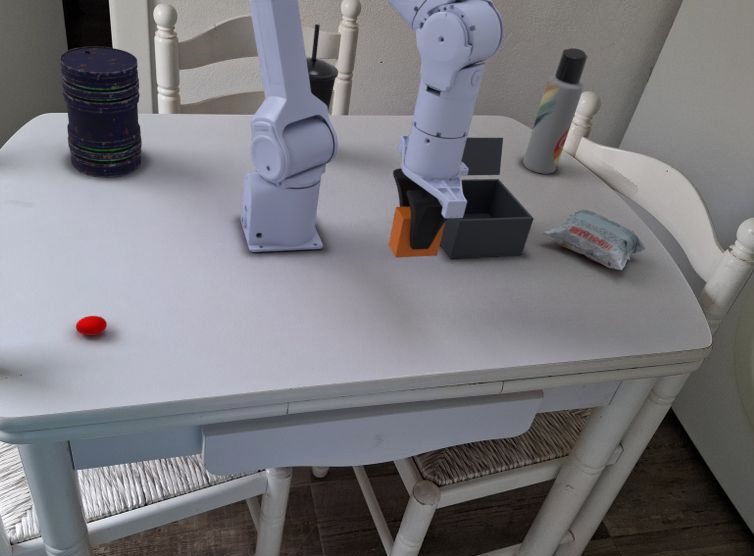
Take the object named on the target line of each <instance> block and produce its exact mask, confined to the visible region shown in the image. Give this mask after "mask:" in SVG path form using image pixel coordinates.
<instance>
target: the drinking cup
mask: <svg viewBox="0 0 754 556" xmlns="http://www.w3.org/2000/svg"><path fill="white" fill-rule="evenodd" d="M320 27H321V25H320V24H317V23H316V24H314V30H313V31H314V33H313V40H312V41H313V42H312V52H311V57H306V61H307V68H308V74H309V81H310V88H311V93H312V94H313V95H314V96H315V97H317V98H318V99H319V100H321V101H322V102H323V103H324V104H326V106H327V108H328V111H329V108H330V105H331V101H332V95H333V91H334V87H335V83H336V78H337V77H338V76H339V70H338V68H337V67H336V66H335V65H333V64H331V63H329V62H327V61H325V60H323V59H320V58H317V57H318V56H317V55H318V46H319V38H320V37H319V35H320Z"/></svg>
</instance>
